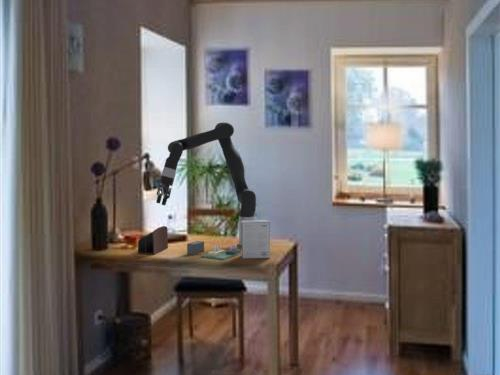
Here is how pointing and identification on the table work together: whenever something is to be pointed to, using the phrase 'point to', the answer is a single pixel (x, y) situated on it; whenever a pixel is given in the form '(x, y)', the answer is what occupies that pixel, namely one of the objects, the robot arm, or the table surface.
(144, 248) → the letter holder
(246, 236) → the hard drive box
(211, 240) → the table surface
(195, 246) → the plug housing
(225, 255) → the pcb board
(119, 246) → the table surface
